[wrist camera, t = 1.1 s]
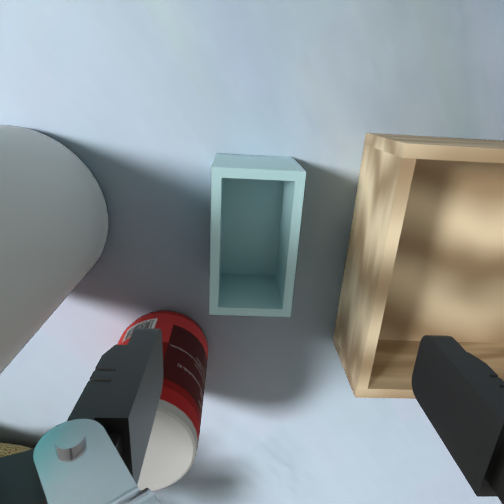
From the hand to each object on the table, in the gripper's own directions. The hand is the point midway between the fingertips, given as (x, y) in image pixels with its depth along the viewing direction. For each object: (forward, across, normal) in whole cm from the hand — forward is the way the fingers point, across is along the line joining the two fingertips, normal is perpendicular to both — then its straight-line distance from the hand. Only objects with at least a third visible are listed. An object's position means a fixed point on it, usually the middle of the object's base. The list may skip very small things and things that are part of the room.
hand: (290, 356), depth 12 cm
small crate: (+19, 0, +1) cm, 19 cm away
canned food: (+20, +8, +13) cm, 25 cm away
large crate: (+19, -17, +3) cm, 25 cm away
